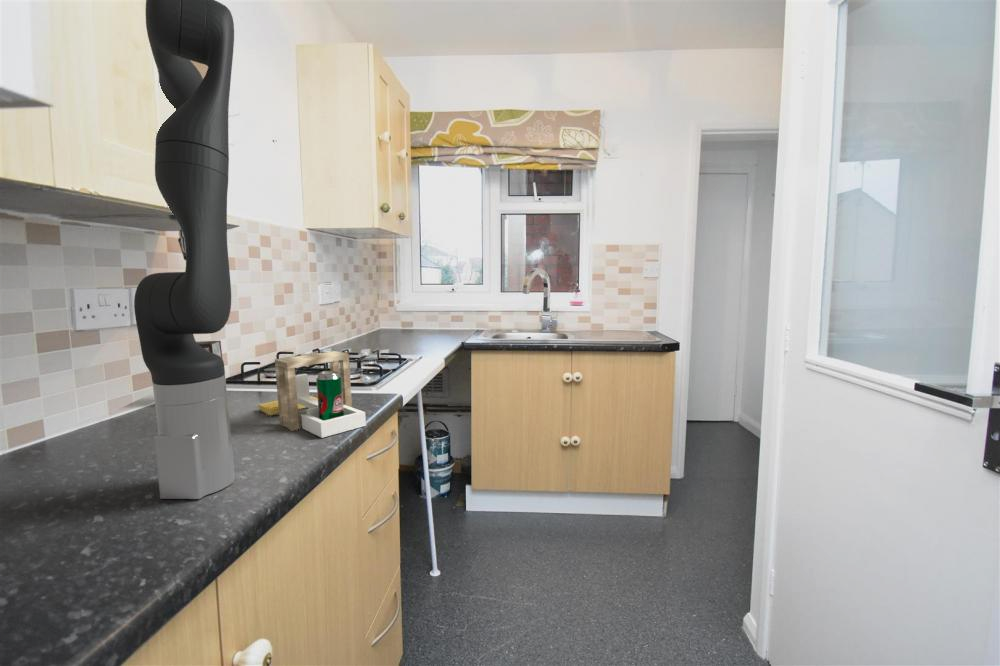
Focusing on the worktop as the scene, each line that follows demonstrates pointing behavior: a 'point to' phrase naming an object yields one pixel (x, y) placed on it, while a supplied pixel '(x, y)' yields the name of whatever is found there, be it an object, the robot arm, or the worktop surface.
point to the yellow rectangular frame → (276, 407)
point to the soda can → (330, 395)
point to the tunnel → (288, 382)
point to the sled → (328, 427)
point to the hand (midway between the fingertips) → (196, 280)
